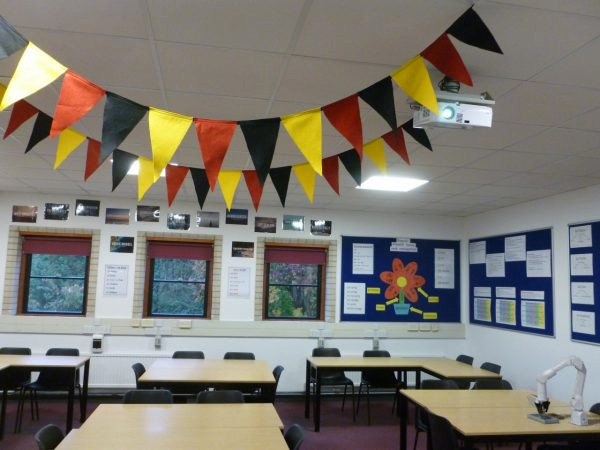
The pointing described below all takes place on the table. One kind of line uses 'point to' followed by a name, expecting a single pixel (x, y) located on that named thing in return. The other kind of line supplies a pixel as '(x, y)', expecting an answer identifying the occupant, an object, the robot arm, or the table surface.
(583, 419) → the robot arm
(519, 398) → the table surface
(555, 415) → the holder
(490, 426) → the table surface
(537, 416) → the tray
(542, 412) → the pin
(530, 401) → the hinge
